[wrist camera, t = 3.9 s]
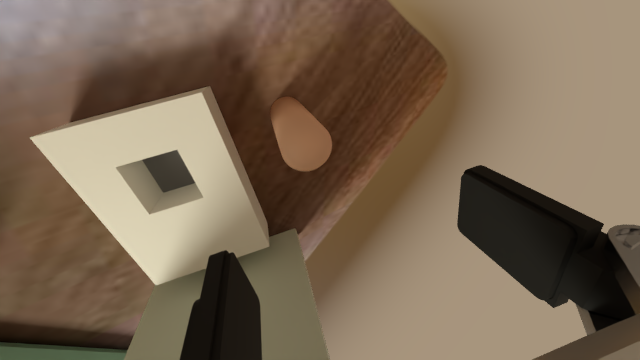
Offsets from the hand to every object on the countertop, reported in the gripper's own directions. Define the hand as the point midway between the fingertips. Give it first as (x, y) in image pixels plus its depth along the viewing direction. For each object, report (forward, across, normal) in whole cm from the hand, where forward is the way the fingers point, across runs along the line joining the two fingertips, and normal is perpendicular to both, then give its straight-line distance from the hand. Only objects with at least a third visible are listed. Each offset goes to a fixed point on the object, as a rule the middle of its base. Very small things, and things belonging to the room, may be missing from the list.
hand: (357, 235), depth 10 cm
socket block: (+22, +14, +4) cm, 27 cm away
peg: (+22, 0, 0) cm, 23 cm away
